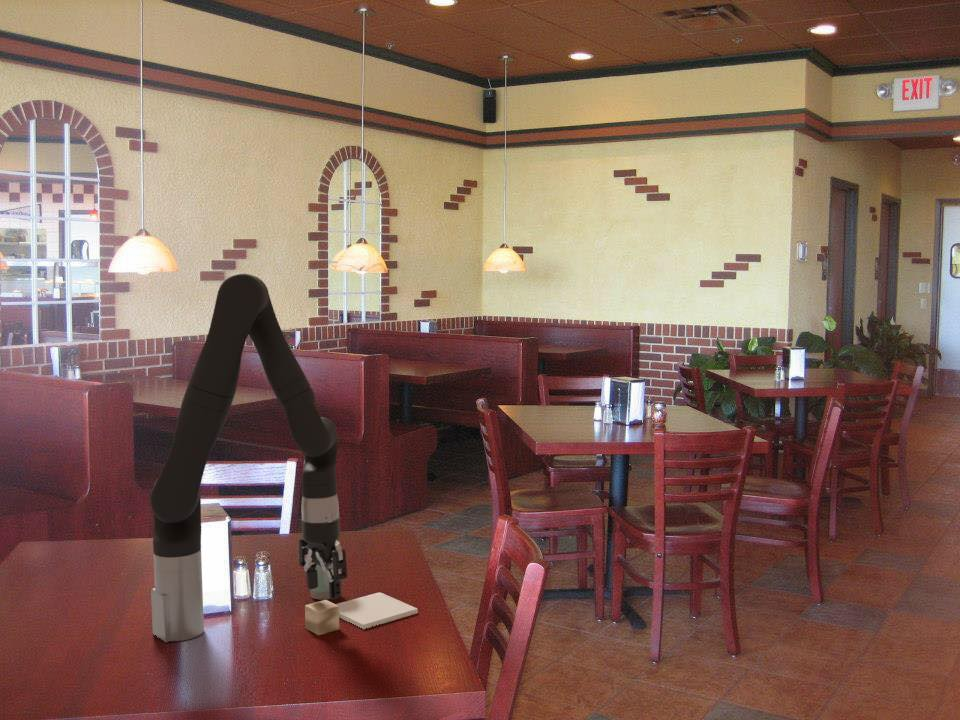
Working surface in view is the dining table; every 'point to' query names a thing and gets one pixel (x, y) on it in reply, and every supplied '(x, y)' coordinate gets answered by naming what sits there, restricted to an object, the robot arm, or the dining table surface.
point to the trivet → (374, 610)
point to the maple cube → (322, 617)
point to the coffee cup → (323, 581)
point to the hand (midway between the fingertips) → (323, 593)
